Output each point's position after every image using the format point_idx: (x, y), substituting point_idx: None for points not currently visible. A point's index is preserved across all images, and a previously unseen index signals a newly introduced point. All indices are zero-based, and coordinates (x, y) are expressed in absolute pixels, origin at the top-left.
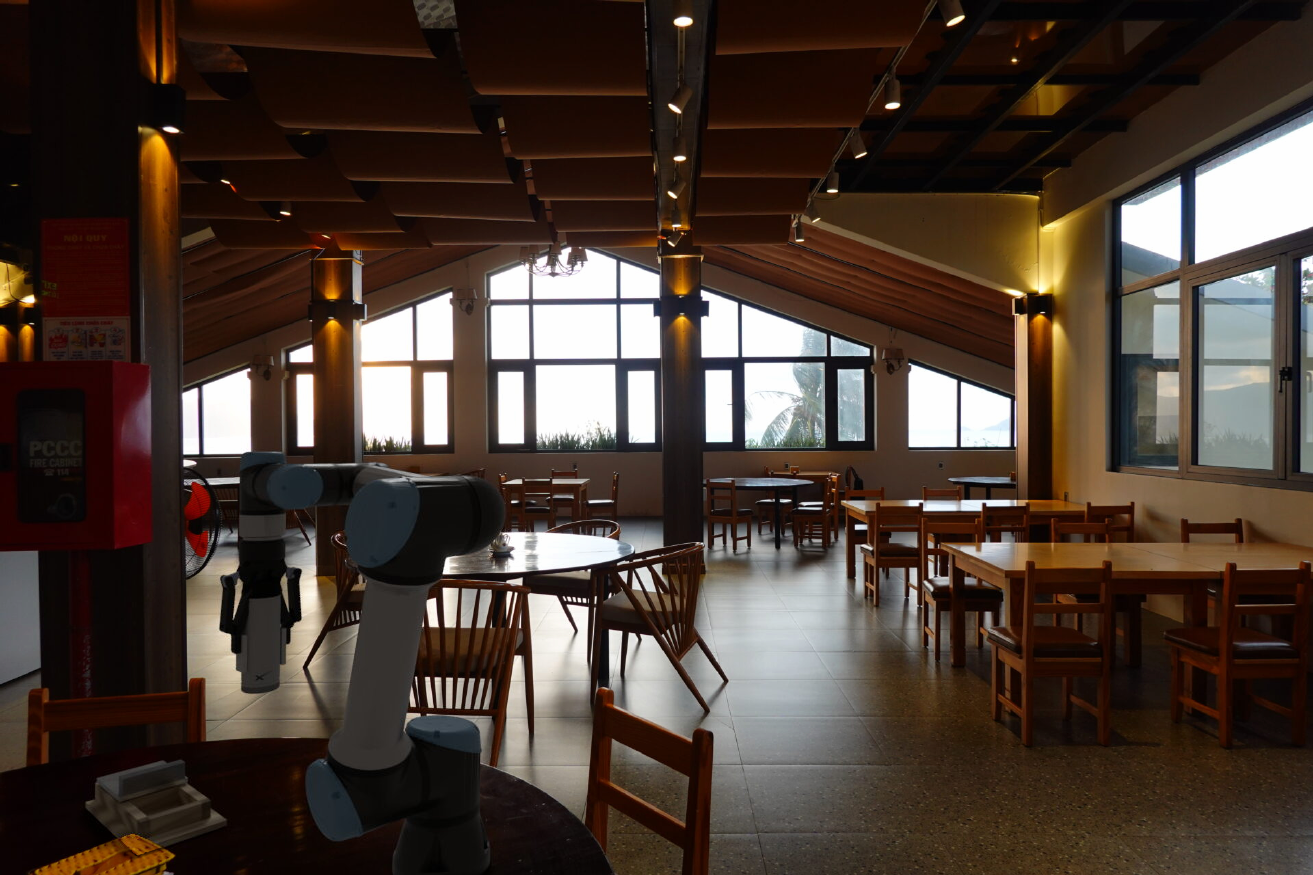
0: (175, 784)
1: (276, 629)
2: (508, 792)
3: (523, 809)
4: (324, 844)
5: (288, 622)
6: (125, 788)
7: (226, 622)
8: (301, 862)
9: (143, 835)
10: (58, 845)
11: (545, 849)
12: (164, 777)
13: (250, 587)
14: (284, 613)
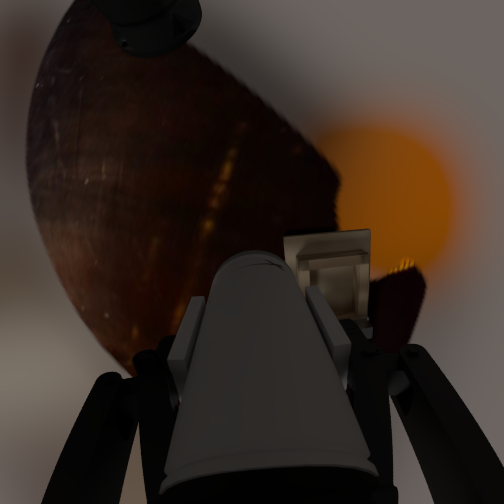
0: None
1: (217, 338)
2: (40, 123)
3: (52, 82)
4: (219, 118)
5: (152, 374)
6: (366, 321)
7: (437, 367)
8: (253, 97)
9: (361, 250)
10: (400, 298)
11: (88, 12)
12: None
13: None
14: (159, 407)
